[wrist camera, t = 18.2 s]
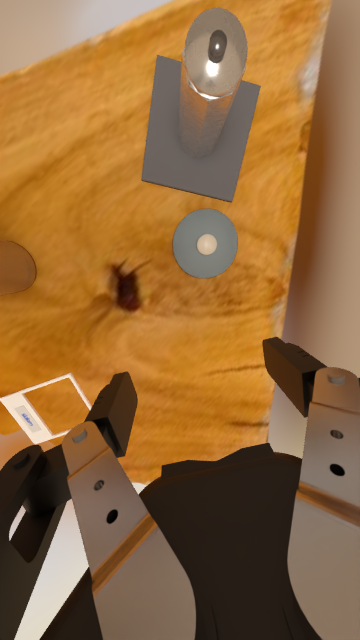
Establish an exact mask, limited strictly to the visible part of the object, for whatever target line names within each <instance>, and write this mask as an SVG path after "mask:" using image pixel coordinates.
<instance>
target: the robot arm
mask: <svg viewBox="0 0 360 640" xmlns="http://www.w3.org/2000/svg"><path fill="white" fill-rule="evenodd" d="M35 276H36V268H35V264H34V261H33V259H32V257H31V256H30V255H29V253H28V252H27V251H26V250H25V249H24V248H23V247H21V246H19V245H18V244H16V243H13V242H9V241H2V240H0V296H1V295H6V294H10V293H14V292H18V291H23V290H25V289H27V288H29V287H30V286H31V285H32V283H33V282H34V280H35ZM263 352H264V360H265V366H266V369H267V371H268V373H269V375H270V376H271V377H272V378H273V380H274V381H275V382H276V383H277V385H278V386H279V387H280V388H281V389H282V391H283V392H284V393H285V394H286V396H287V397H288V398H289V399H290V400H291V401H292V403H293V404H294V405H295V406H296V408H297V409H298V410H299V411H300V413H301V414H302V415H303V416H304V417H308V420H307V427H306V436H305V444H304V451H303V458H302V459H301V458H298V457H296V456H293V455H289V454H285V453H279V452H273V450H272V448H271V446H270V444H269V443H265V444H260V445H256V446H251V447H246V448H242V449H240V450H238V451H236V452H234V453H232V454H230V455H228V456H226V457H224V458H222V459H220V460H218V461H197V460H186V461H181V462H176V463H172V464H167V465H162V473H161V477H159V478H157V479H156V480H154V481H153V482H151V483H150V484H149V485H148V486H146V487H145V488H144V489H143V490H142V491H141V492H140V493H139V495H138V494H137V492H136V490H135V488H134V487H133V485H132V483H131V482H130V480H129V478H128V477H127V475H126V473H125V471H124V470H123V468H122V466H121V465H120V463H119V461H118V460H117V458H118V457H123V456H125V454H126V450H127V446H128V441H129V437H130V433H131V429H132V425H133V420H134V416H135V412H136V408H137V403H138V399H137V394H136V391H135V388H134V385H133V382H132V380H131V377H130V374H129V373H128V372H123V373H118V374H115V375H114V376H113V378H112V380H111V382H110V384H108V385H106V386H105V387H104V388H103V389H102V390H101V391H100V393H99V395H98V397H97V399H96V400H95V402H94V405H93V406H92V408H91V410H90V412H89V414H88V415H87V417H86V419H85V421H84V422H83V423H81V424H79V425H77V426H75V427H74V428H73V429H71V430H70V431H69V432H68V433H67V434H66V435H65V437H64V438H63V441H62V444H60V445H58V446H56V447H54V448H52V449H50V450H48V451H46V452H43V450H42V448H41V446H39V445H32V446H29V447H27V448H25V449H23V450H21V451H19V452H18V453H17V454H15V455H14V456H13V457H12V458H11V459H10V460H9V461H8V462H7V463H6V464H5V465H4V466H3V468H2V469H1V471H0V640H14V638H15V635H16V633H17V631H18V628H19V625H20V623H21V620H22V618H23V615H24V612H25V610H26V607H27V604H28V602H29V599H30V597H31V594H32V591H33V589H34V586H35V584H36V581H37V578H38V576H39V573H40V571H41V568H42V565H43V562H44V560H45V558H46V555H47V552H48V550H49V547H50V545H51V541H52V539H53V537H54V534H55V531H56V529H57V526H58V524H59V521H60V518H61V516H62V513H63V510H64V508H65V505H66V502H67V501H68V500H70V499H72V501H73V505H74V509H75V513H76V517H77V521H78V525H79V529H80V533H81V536H82V540H83V544H84V548H85V552H86V556H87V560H88V564H89V567H88V569H87V570H86V572H85V573H84V575H83V576H82V578H81V579H80V581H79V582H78V584H77V585H76V587H75V588H74V590H73V591H72V592H71V594H70V595H69V597H68V598H67V600H66V601H65V603H64V604H63V606H62V607H61V609H60V610H59V612H58V613H57V615H56V616H55V617H54V619H53V621H52V622H51V623H50V625H49V626H48V628H47V629H46V631H45V632H44V634H43V635H42V637H41V638H40V640H360V378H357V376H356V375H355V374H353V373H352V372H350V371H347V370H345V369H341V368H336V367H327V366H325V365H324V364H323V363H321V362H320V361H318V360H317V359H315V358H314V357H313V356H310V354H309V353H307V352H305V351H304V350H303V349H302V348H300V347H299V346H296V345H294V344H291V343H284V342H283V341H282V340H281V339H279V338H278V337H274V338H269V339H265V340H263ZM22 505H23V507H24V508H25V510H26V512H25V514H24V516H23V517H22V520H21V521H20V523H19V525H18V527H17V529H16V531H15V532H14V534H13V536H12V538H11V540H10V541H9V531H10V527H11V525H12V523H13V521H14V519H15V517H16V515H17V513H18V512H19V510H20V508H21V506H22Z"/></svg>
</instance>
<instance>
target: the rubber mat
mask: <svg viewBox="0 0 360 640" xmlns="http://www.w3.org/2000/svg"><path fill="white" fill-rule="evenodd" d="M181 64H182V62H180V61H176V60H173V59H170V58H166V57H163V56H160V55H157V60H156V68H155V76H154V84H153V92H152V100H151V108H150V116H149V124H148V132H147V140H146V148H145V156H144V164H143V172H142V181H145V182H149V183H153V184H158V185H162V186H166V187H170V188H174V189H178V190H182V191H186V192H190V193H195V194H199V195H203V196H207V197H211V198H215V199H219V200H223V201H228V202H232V200H233V196H234V192H235V188H236V184H237V180H238V176H239V172H240V168H241V164H242V160H243V156H244V152H245V148H246V144H247V139H248V135H249V131H250V127H251V123H252V119H253V115H254V111H255V107H256V103H257V99H258V95H259V91H260V87H261V86H259V85H256V84H252V83H249V82H246V81H242V80H241V82H240V85H239V87H238V90H237V92H236V95H235V97H234V100H233V103H232V105H231V108H230V110H229V113H228V115H227V118H226V120H225V123H224V126H223V128H222V131H221V133H220V136H219V138H218V141H217V142H216V144H215V146H214V148H213V150H212V152H211V154H210V155H209V156H206V157H202V158H199V159H193V158H192V157H191V156H189V155H188V154H187V153H185V152H184V151H183V150H182V147H181V143H180V138H179V133H178V127H179V106H180V85H181Z"/></svg>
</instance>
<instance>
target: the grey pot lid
mask: <svg viewBox="0 0 360 640" xmlns="http://www.w3.org/2000/svg"><path fill="white" fill-rule="evenodd" d="M237 247H238V238H237V233H236V229H235V227H234V225H233V224H232V222H231V221H230V219H229V218H228V217H227V216H225V215H224V214H223V213H221V212H219V211H216V210H213V209H200V210H196V211H194V212H192V213H190V214H189V215H187V216H186V217H185V218H184V219H183V220H182V221H181V222H180V224H179V225H178V227H177V229H176V231H175V234H174V238H173V252H174V256H175V258H176V261H177V263H178V264H179V266H180V267H181V268H182V269H183V270H184V271H185V272H186V273H188V274H190V275H192V276H194V277H197V278H211V277H215V276H217V275H219V274H221V273H222V272H224V271H225V270H226V269H227V268H228V267H229V266H230V265H231V263H232V261H233V260H234V258H235V255H236V252H237Z"/></svg>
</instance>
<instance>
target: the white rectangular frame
mask: <svg viewBox="0 0 360 640" xmlns="http://www.w3.org/2000/svg"><path fill="white" fill-rule="evenodd" d="M67 377H69V378H70V379H71V381H72V383H73V384H74V386H75V387H76V389H77V391H78V392H79V394H80V395H81V397H82V399H83V400H84V402H85V403H86V405H87V407H88V408H89V410H91V408H92V405H91V404H90V402H89V400H88V399H87V397H86V395H85V394H84V392H83V391H82V389H81V387H80V386H79V384H78V382H77V381H76V379H75V378H74V376H73V374H72V373H68V374H65V375H63V376H60V377H57V378H54V379H51V380H49V381H46V382H43V383H40V384H37V385H35V386H32V387H29V388H26V389H23V390H20V391H18V392H15V393H12V394H9V395H6V396H4V397H1V398H0V401H1V402H2V403H3V404H4V406H5V407H6V408H7V410H8V411H9V412H10V413H11V415H12V416H13V417H14V419H15V420H16V421H17V422H18V424H19V425H20V426H21V427H22V429H23V430H24V431H25V432H26V434H27V435H28V436H29V438H30V439H31V440H32V441H33V443H34V444H38V443H41V442H44V441H47V440H50V439H53V438H56V437H59V436H62V435H65V434H67V433H68V432H69V431H70V430H71V429H69V430H66V431H63V432H60V433H57V434H53V433H52V432H51V430H50V429H49V428H48V426H47V425H46V423H45V422H44V421H43V419H42V418H41V417H40V415H39V414H38V412H37V411H36V410H35V408H34V407H33V406H32V404H31V403H30V401H29V400H28V399H27V397H26V396H25V395H24V393H25V392H28V391H31V390H34V389H36V388H39V387H42V386H45V385H48V384H51V383H53V382H56V381H59V380H62V379H65V378H67ZM72 429H73V428H72Z"/></svg>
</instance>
